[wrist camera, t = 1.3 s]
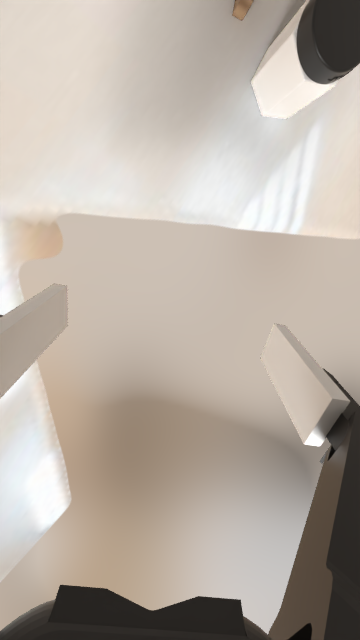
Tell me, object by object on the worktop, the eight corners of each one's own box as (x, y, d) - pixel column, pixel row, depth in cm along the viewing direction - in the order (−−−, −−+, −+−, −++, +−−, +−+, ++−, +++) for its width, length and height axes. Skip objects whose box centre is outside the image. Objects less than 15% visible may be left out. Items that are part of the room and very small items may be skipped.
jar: (279, 134, 38) (344, 94, 27) (241, 97, 35) (296, 36, 24) (312, 75, 37) (395, 8, 26) (274, 31, 34) (350, -66, 23)
